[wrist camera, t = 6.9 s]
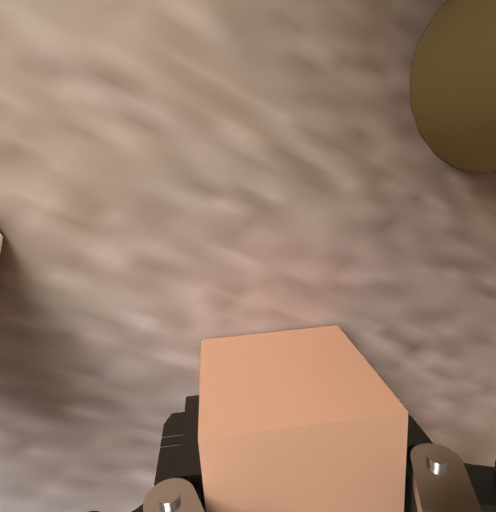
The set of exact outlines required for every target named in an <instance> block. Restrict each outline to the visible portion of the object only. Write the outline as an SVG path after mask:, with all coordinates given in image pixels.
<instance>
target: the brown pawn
mask: <svg viewBox="0 0 496 512" xmlns="http://www.w3.org/2000/svg"><path fill="white" fill-rule="evenodd" d="M410 97H411V109H412V112H413V115H414V118H415V121H416V124H417V127H418V130H419V133H420V135H421V136H422V137H423V139H424V140H425V141H426V143H427V144H428V145H429V147H430V148H431V149H432V150H433V152H434V153H435V154H436V155H437V156H438V157H440V158H441V159H443V160H445V161H446V162H448V163H449V164H451V165H453V166H454V167H456V168H458V169H463V170H468V171H473V172H478V173H486V172H493V171H496V0H449V1H448V2H447V3H446V4H445V5H444V6H443V7H442V8H441V9H440V10H439V11H438V12H437V13H436V14H435V15H434V16H433V18H432V20H431V21H430V23H429V25H428V27H427V28H426V30H425V32H424V34H423V36H422V37H421V39H420V41H419V43H418V45H417V49H416V53H415V57H414V61H413V65H412V69H411V73H410Z"/></svg>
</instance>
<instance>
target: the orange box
mask: <svg viewBox="0 0 496 512" xmlns="http://www.w3.org/2000/svg"><path fill="white" fill-rule="evenodd" d="M407 434H408V411H407V410H406V408H405V407H404V406H403V405H402V404H401V402H400V401H399V400H398V399H397V397H396V396H395V395H394V394H393V393H392V391H391V390H390V389H389V388H388V386H387V385H386V384H385V383H384V382H383V380H382V379H381V378H380V377H379V375H378V374H377V373H376V372H375V370H374V369H373V368H372V367H371V366H370V364H369V363H368V362H367V361H366V359H365V358H364V357H363V356H362V355H361V353H360V352H359V351H358V350H357V348H356V347H355V346H354V345H353V344H352V342H351V341H350V340H349V339H348V337H347V336H346V335H345V334H344V332H343V331H342V330H341V329H340V328H339V326H338V325H335V326H326V327H316V328H307V329H298V330H288V331H279V332H269V333H260V334H251V335H241V336H232V337H223V338H213V339H204V340H201V359H200V389H199V420H198V445H199V454H200V463H201V472H202V481H203V489H204V498H205V507H206V512H404V498H405V476H406V455H407Z"/></svg>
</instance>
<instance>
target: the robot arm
mask: <svg viewBox="0 0 496 512" xmlns="http://www.w3.org/2000/svg"><path fill="white" fill-rule="evenodd" d="M198 420H199V395H196V396H188V397H186V404H185V412H181V413H173V414H171V416H170V417H169V418H168V420H167V421H166V423H165V424H164V428H163V434H162V440H161V448H160V453H159V459H158V465H157V471H156V477H155V483H154V487H153V488H152V489H151V490H150V491H149V492H148V493H147V495H146V497H145V499H144V502H143V504H142V505H141V506H140V507H138V508H137V509H136V510H134V511H132V512H206V507H205V498H204V489H203V481H202V472H201V463H200V454H199V445H198ZM90 512H98V511H90ZM404 512H496V461H495V467H487V466H479V465H471V464H466V463H463V461H462V460H461V459H460V457H459V456H458V455H457V454H455V453H454V452H453V451H451V450H450V449H448V448H446V447H443V446H441V445H437V444H433V443H432V441H431V440H430V439H429V438H428V436H427V435H426V434H425V433H424V432H423V430H422V429H421V428H420V427H419V425H418V424H417V423H416V422H415V420H414V419H413V418H412V417H411V416H410V415H409V413H408V434H407V455H406V476H405V498H404Z"/></svg>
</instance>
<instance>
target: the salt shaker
mask: <svg viewBox="0 0 496 512" xmlns="http://www.w3.org/2000/svg"><path fill="white" fill-rule="evenodd" d="M2 241H3V236H2V235H1V233H0V253H1V247H2Z"/></svg>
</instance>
